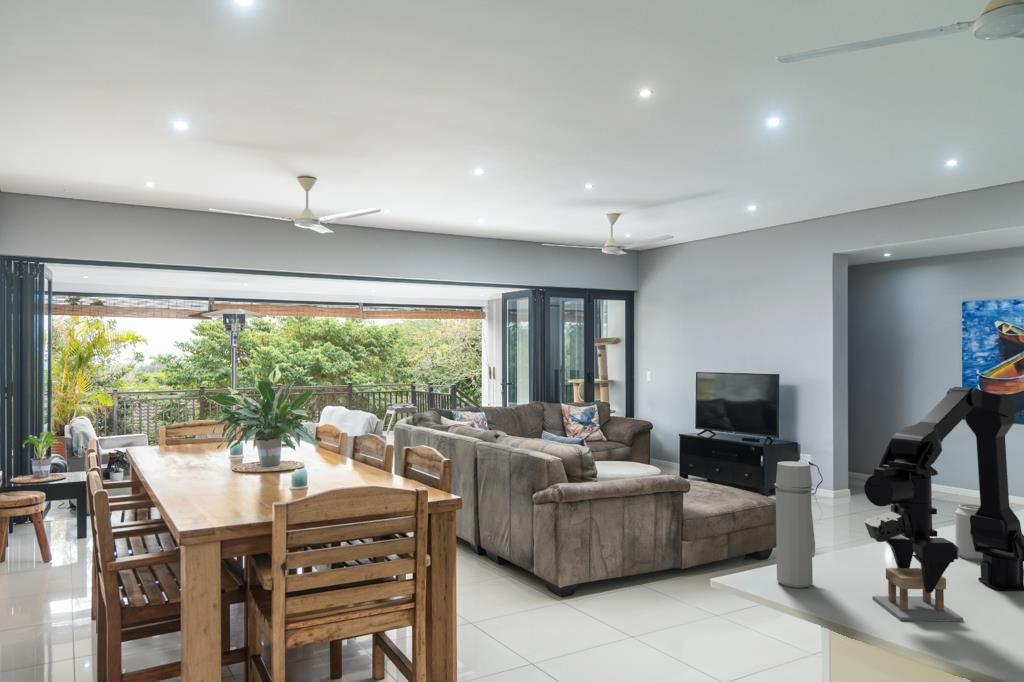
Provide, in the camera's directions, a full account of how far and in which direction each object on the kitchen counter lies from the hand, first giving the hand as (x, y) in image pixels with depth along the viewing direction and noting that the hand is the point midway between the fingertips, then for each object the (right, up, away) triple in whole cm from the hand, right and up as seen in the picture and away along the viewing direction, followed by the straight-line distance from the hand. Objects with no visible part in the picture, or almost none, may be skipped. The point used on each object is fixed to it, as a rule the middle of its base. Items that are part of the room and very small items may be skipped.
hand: (915, 583), depth 133 cm
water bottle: (-16, -5, +16) cm, 23 cm away
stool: (0, -4, 0) cm, 4 cm away
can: (+32, -5, +32) cm, 46 cm away
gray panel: (0, -5, 0) cm, 5 cm away
